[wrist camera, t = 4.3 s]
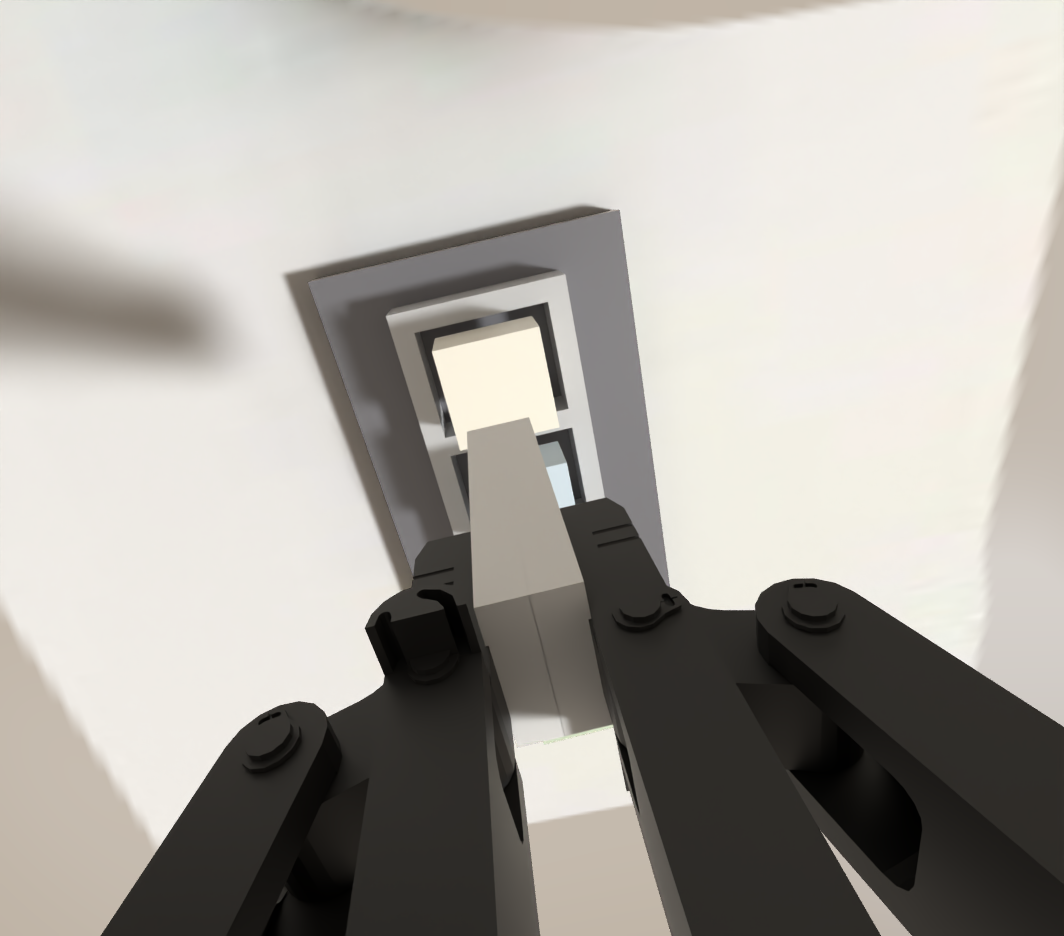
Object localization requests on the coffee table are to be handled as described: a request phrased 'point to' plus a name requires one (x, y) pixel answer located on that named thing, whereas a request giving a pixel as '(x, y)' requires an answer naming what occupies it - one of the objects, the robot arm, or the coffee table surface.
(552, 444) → the key blue
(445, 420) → the keypad
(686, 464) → the coffee table surface
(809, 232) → the coffee table surface
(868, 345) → the coffee table surface
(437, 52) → the coffee table surface
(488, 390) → the key ivory
